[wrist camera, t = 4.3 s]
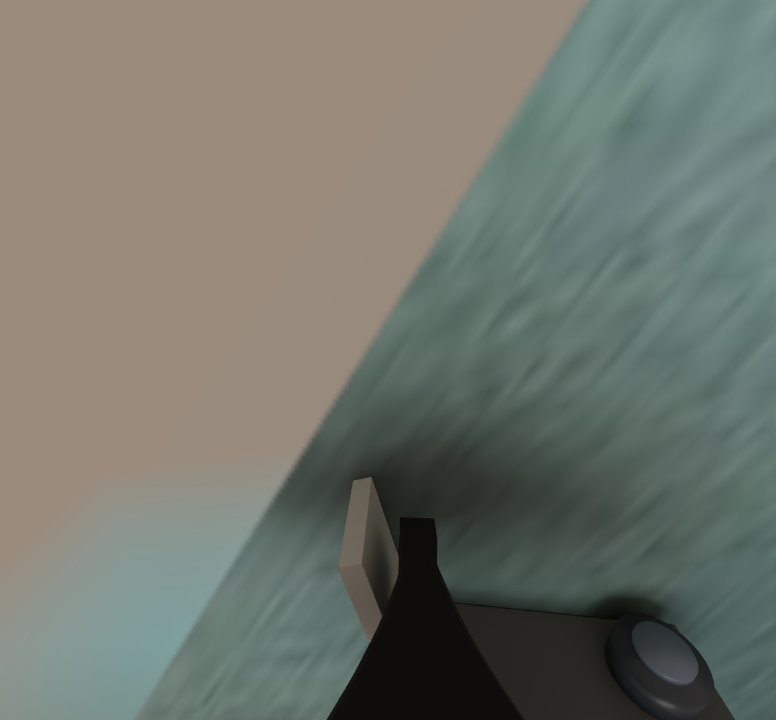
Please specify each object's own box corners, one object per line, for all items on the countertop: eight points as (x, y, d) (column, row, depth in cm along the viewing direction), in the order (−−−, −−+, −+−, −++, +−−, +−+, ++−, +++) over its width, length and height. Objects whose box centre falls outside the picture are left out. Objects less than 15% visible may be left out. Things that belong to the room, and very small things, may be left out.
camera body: (688, 602, 14) (774, 723, 11) (623, 718, 17) (676, 842, 14) (416, 574, 14) (421, 687, 11) (395, 694, 17) (393, 813, 14)
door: (351, 480, 13) (335, 567, 10) (372, 476, 12) (363, 563, 10) (396, 603, 15) (394, 706, 12) (414, 601, 15) (418, 704, 12)
